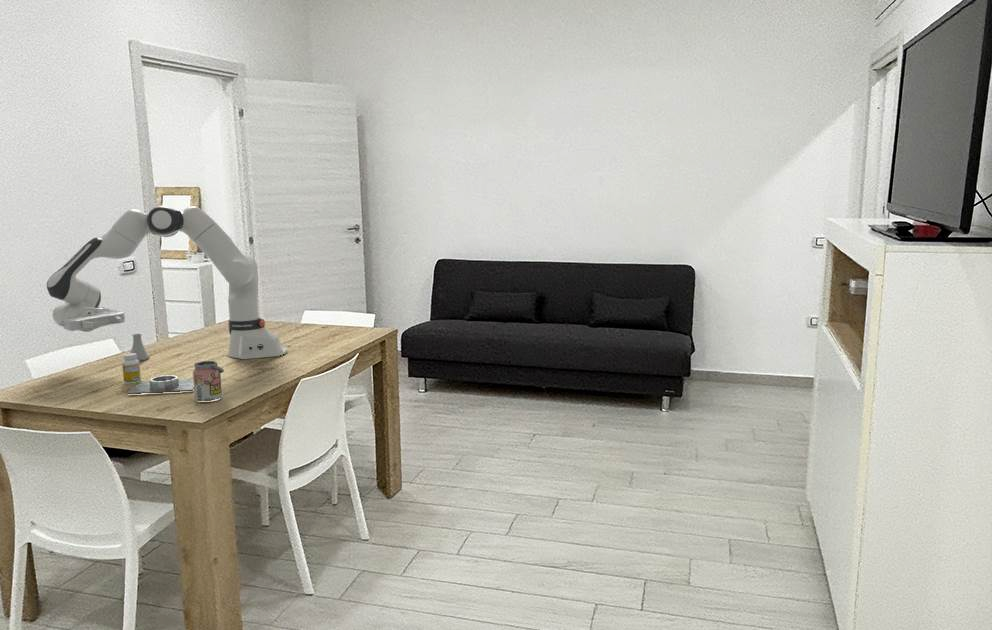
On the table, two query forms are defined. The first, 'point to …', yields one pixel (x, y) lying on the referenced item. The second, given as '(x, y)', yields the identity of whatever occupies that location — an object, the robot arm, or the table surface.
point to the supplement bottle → (131, 368)
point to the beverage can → (207, 381)
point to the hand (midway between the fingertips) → (106, 323)
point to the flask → (139, 348)
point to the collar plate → (163, 385)
